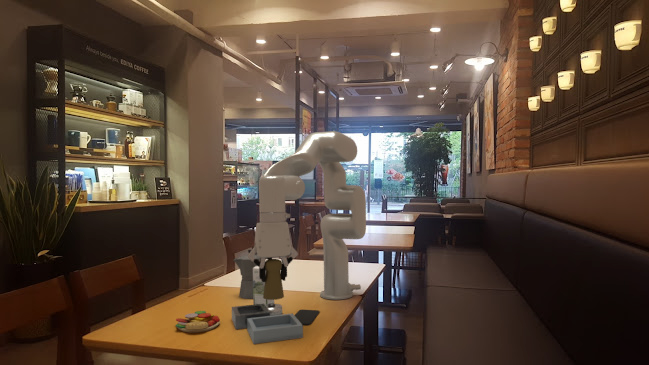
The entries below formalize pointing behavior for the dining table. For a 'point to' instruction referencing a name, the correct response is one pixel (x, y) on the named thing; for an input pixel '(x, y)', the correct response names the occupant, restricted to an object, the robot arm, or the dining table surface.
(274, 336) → the tray
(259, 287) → the syrup box
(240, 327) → the collar
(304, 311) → the phone
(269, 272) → the cork
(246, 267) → the coffeepot
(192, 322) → the toy food set
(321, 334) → the dining table surface
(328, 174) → the robot arm
